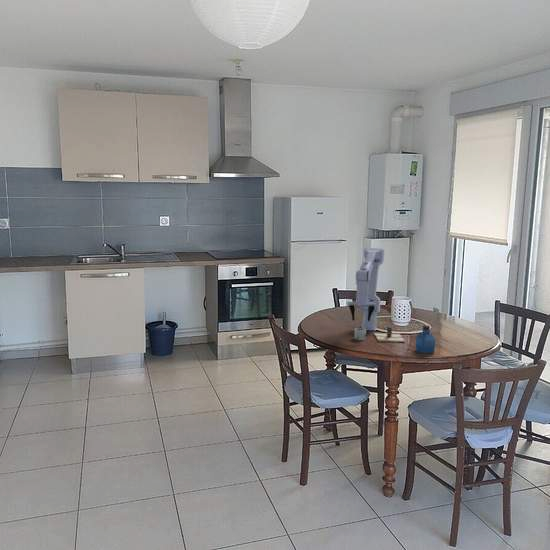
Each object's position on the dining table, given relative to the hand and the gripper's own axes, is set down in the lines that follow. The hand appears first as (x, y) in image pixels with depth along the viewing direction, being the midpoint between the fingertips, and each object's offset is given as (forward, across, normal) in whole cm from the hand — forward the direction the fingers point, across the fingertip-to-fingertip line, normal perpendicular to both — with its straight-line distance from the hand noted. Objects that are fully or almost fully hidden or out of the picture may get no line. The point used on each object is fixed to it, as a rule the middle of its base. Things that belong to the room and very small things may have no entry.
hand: (360, 320), depth 268 cm
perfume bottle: (+10, +28, -18) cm, 35 cm away
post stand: (+9, +15, +2) cm, 18 cm away
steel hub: (+10, 0, 0) cm, 10 cm away
